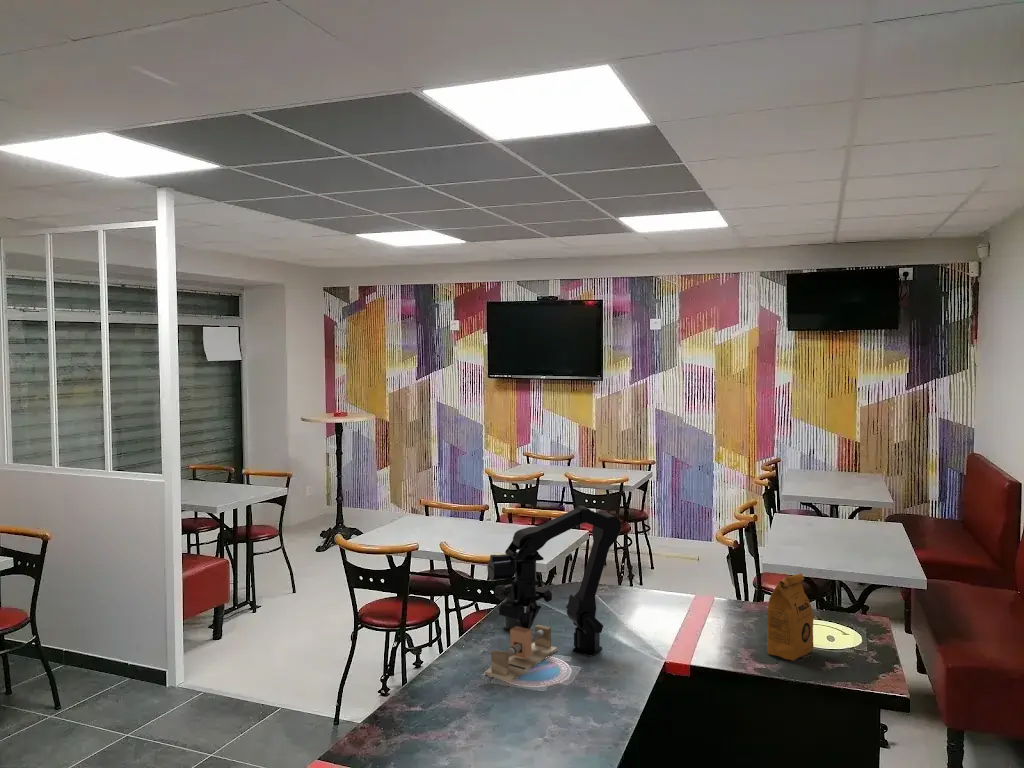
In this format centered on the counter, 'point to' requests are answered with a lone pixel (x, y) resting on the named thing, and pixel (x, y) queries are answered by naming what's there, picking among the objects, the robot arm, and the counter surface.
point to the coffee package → (789, 620)
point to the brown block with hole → (521, 641)
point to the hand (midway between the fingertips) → (526, 632)
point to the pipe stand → (513, 666)
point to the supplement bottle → (511, 619)
